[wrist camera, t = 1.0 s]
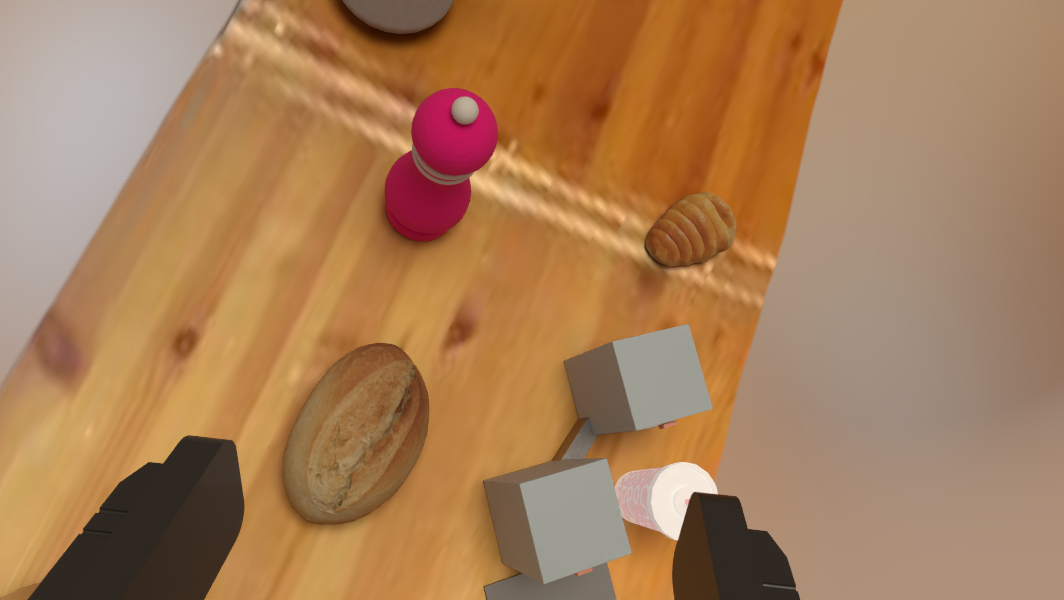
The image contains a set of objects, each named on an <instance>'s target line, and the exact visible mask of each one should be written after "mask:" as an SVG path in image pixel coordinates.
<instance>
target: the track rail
mask: <svg viewBox="0 0 1064 600" xmlns="http://www.w3.org/2000/svg"><path fill="white" fill-rule="evenodd" d="M597 436H598V435H593V432H592V428H591V424H590V421H589V417H585V418H579V419H578V420H577V422H576V423H575V425H574V427H573V428H572V430H571V431H570V433H569V434H568V436H567V438H566V439H565V441H564V442H563V444H562V445H561V447H560V448H559V450H558V452H557V453H556V455H555V456H554V458H553V459H552V461H562V460H565V459H583V458H584V457H585V455H586V454H587V452H588V450H589V449H590V447H591V446H592V444H593V442H594V441H595V439H596V437H597Z"/></svg>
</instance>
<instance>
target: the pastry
mask: <svg viewBox="0 0 1064 600" xmlns="http://www.w3.org/2000/svg"><path fill="white" fill-rule="evenodd" d="M736 228H737V226H736V220H735V218H734V215H733V213H732V211H731V209H730V207H729V206H728V205H727V204H726V203H725V202H723V200H722V199H721V198H720V197H719V196H717V195H715V194H712V193H708V192H702V193H700V194H693V195H688V196H685V197H684V198H683V199H682V200H680V201H678V202H677V203H675V204H673V205H672V206H671V207H670V208H669V209H668V210H667V211H666V213H665V214H664V215H663V216H662V217H661V218H660V219H659V220H658V221H657V222H656V223H655V225H654V226H653V227H652V228H651V230H650V232H649V234H648V237H647V239H646V248H647V249H648V251H649V253H650V255H651V256H652V257H653V258H654V259H655V260H656V261H658V262H659V263H661V264H664V265H667V266H669V267H673V266H678V265H685V266H686V265H690V264H693V263H698V262H706V261H707V260H708V259H709V258H710V257H712V256H714V255H716V254H717V253H719V252H721V251H724V250H726V248H729V247H731V246H732V244H733V239H734V237H735V230H736Z"/></svg>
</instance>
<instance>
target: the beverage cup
mask: <svg viewBox="0 0 1064 600" xmlns="http://www.w3.org/2000/svg"><path fill="white" fill-rule="evenodd" d="M614 488H615V492H616V496H617V500H618V503H619V507H620V511H621V515H622V517H623V518H624V519H626V520H627V521H629V522H632V523H635V524H638V525H641V526H644V527H647V528H650V529H653V530H656V531H659V532H661V533H663V534H664V535H666V536H667V537H669V538H670V539H673V540H678V538H679V534H680V531H681V527H682V524H683V521H684V517H685V514H686V510H687V507H688V503H689V500H690V497H691V495H692V493H693V492H702V493H710V494H718V492H717V488H716V485H715V483H714V482H713V480H712V479H711V477H710V476H709V474H708V473H707V472H706V471H705V470H703V469H702V468H700V467H699V466H697V465H696V464H691V463H685V462H678V463H674V464H670V465H666V466H665V467H661V468H653V469H645V470H637V471H632V472H628V473H626V474H624V475H623V476H622V477H621V478H619V480H618V482H617V484H616V485H615V487H614Z"/></svg>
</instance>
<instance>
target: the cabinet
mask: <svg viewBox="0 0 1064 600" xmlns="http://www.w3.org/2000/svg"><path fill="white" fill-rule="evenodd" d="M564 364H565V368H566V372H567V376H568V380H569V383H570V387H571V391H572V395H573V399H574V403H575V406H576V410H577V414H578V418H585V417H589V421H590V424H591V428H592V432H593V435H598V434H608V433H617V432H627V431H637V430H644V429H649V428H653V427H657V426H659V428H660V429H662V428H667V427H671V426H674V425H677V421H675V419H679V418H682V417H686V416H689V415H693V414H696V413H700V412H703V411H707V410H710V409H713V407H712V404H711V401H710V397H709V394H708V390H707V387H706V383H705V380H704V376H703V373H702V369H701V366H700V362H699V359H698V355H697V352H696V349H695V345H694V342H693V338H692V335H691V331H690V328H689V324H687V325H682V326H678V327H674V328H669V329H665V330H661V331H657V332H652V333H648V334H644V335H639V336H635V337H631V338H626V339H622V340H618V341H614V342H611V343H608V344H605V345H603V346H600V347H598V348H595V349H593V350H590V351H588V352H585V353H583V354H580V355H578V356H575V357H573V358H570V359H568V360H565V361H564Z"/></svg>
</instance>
